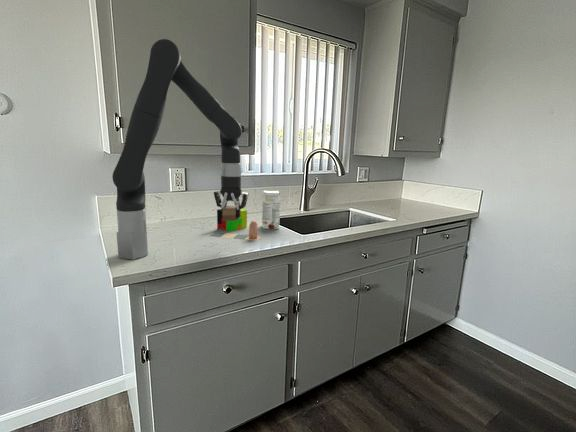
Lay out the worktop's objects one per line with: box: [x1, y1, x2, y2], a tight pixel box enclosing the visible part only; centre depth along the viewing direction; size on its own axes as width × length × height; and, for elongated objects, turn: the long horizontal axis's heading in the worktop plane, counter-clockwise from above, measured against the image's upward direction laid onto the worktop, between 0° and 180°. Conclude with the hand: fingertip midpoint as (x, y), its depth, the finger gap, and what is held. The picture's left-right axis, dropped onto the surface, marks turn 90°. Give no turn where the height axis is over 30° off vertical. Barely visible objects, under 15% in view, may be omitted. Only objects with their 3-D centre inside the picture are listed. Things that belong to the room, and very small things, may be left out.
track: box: [209, 231, 262, 242], centre depth 144 cm, size 7×22×1 cm, turn 78°
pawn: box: [248, 220, 259, 239], centre depth 141 cm, size 4×4×8 cm
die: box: [223, 205, 238, 221], centre depth 129 cm, size 5×5×5 cm
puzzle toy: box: [216, 208, 248, 232], centre depth 158 cm, size 10×10×10 cm
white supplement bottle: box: [261, 190, 281, 230], centre depth 160 cm, size 8×9×19 cm
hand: (231, 217), depth 129 cm, fingers closed on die, 4 cm apart
